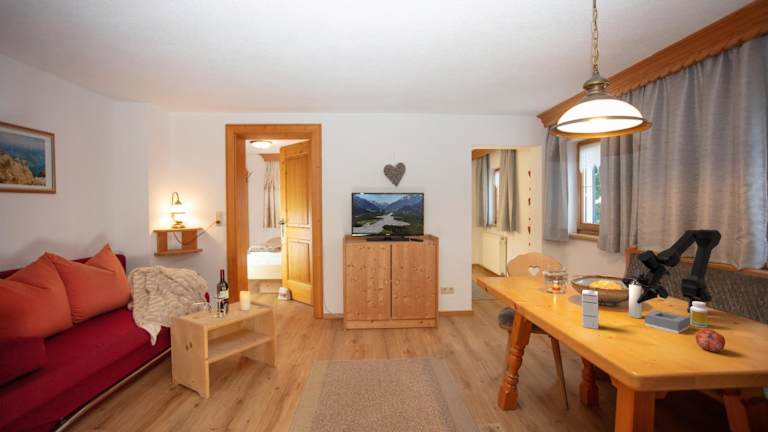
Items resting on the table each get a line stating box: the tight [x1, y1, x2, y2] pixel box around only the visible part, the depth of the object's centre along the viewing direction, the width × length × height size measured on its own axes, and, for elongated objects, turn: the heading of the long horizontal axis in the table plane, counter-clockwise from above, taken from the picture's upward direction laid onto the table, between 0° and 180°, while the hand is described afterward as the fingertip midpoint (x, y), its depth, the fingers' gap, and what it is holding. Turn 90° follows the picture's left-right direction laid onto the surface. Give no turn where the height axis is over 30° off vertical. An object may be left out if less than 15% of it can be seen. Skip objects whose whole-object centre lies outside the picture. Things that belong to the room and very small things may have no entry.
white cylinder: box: [628, 285, 643, 319], centre depth 151 cm, size 5×5×14 cm
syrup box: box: [581, 289, 600, 330], centre depth 140 cm, size 6×6×14 cm
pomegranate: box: [695, 328, 726, 353], centre depth 117 cm, size 7×7×10 cm
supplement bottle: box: [689, 301, 709, 329], centre depth 140 cm, size 5×5×10 cm
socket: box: [644, 309, 690, 334], centre depth 139 cm, size 11×11×4 cm
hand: (632, 301), depth 151 cm, fingers closed on white cylinder, 5 cm apart
